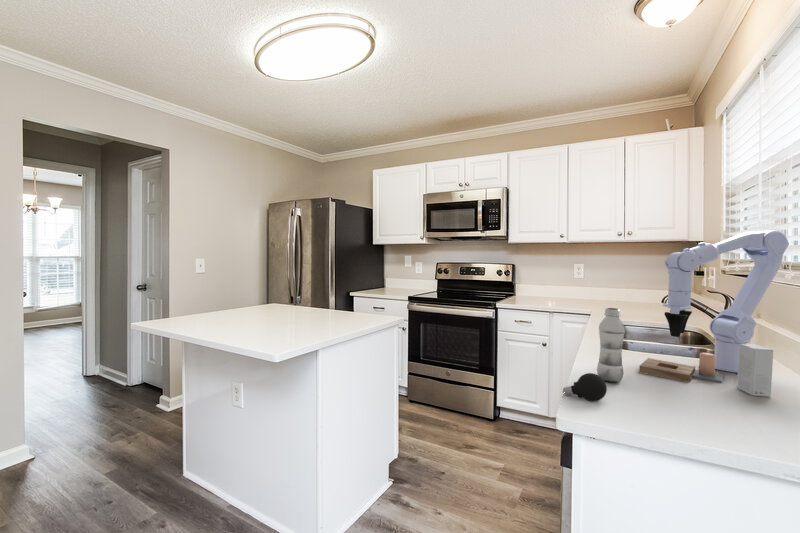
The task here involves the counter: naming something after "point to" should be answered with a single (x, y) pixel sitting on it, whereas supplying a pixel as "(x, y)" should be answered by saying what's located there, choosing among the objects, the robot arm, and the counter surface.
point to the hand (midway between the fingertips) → (677, 334)
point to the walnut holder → (667, 369)
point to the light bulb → (588, 387)
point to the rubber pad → (716, 378)
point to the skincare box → (755, 369)
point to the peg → (707, 364)
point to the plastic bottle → (611, 346)
